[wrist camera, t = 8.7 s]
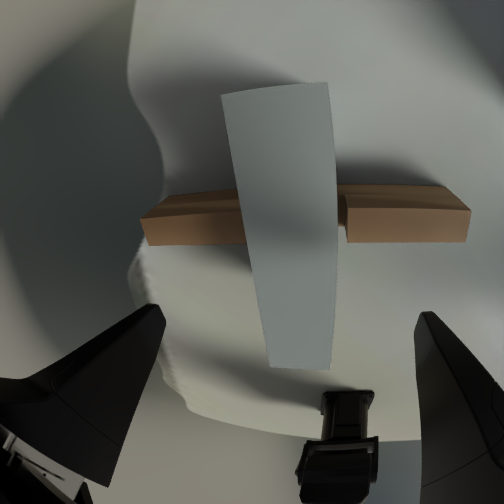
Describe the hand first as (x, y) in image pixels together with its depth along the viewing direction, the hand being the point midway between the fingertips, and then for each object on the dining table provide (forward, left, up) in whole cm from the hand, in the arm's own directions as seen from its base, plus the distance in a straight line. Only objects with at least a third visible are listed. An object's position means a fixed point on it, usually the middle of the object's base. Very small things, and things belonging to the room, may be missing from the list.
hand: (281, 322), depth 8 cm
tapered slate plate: (0, 0, -11) cm, 11 cm away
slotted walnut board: (0, 0, -11) cm, 11 cm away
